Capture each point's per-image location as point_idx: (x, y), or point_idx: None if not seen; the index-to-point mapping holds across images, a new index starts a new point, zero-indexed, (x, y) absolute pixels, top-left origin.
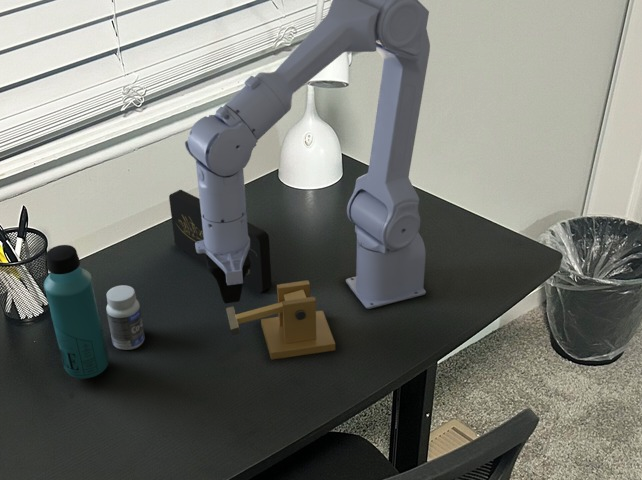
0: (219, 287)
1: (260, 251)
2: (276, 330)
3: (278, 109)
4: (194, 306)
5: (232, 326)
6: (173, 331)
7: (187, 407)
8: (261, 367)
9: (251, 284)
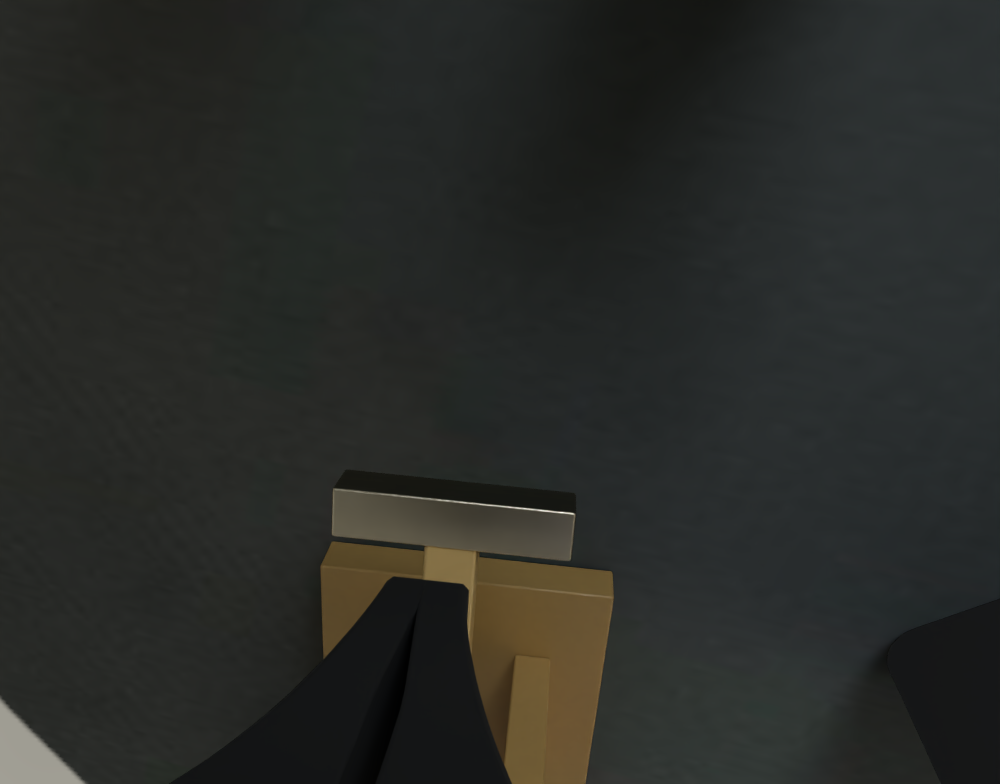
0: (304, 680)
1: None
2: (492, 633)
3: None
4: (972, 285)
5: (355, 503)
6: (764, 99)
7: (9, 55)
8: (285, 488)
9: (976, 630)
